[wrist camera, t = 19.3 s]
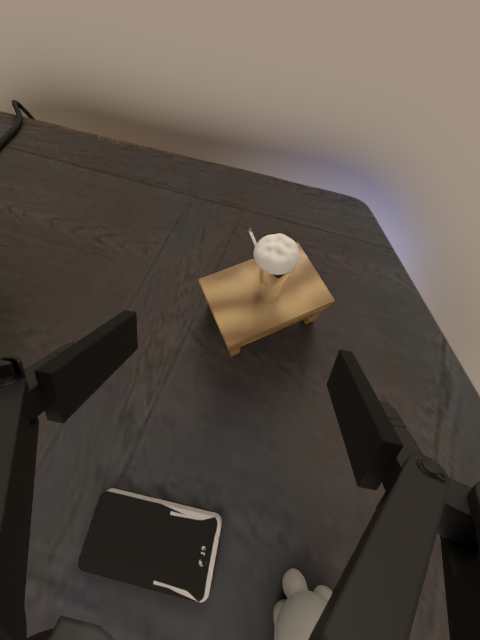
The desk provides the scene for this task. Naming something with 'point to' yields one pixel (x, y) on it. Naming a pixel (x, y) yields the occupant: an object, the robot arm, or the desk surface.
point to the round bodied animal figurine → (298, 607)
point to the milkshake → (273, 264)
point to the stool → (262, 302)
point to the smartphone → (152, 544)
